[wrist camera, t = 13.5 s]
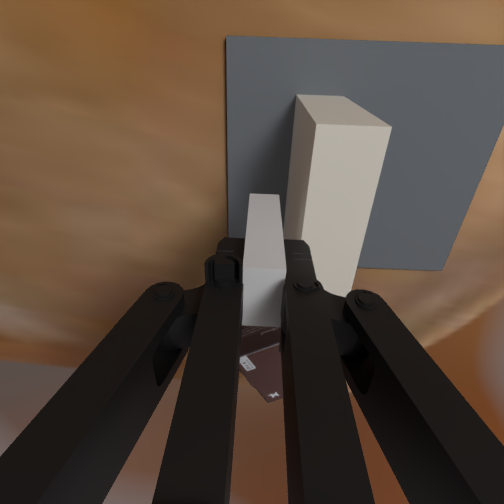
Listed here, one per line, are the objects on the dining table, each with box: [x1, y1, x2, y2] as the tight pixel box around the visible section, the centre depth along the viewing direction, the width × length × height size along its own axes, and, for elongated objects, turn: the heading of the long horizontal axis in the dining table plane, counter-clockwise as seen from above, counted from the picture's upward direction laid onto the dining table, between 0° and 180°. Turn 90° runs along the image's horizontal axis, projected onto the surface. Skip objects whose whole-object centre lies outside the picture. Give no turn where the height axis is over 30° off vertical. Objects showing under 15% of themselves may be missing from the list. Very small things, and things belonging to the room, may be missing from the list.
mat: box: [226, 36, 504, 271], centre depth 23 cm, size 18×16×1 cm
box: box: [239, 325, 283, 402], centre depth 28 cm, size 6×6×7 cm
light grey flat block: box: [283, 94, 392, 297], centre depth 19 cm, size 3×10×9 cm, turn 178°
